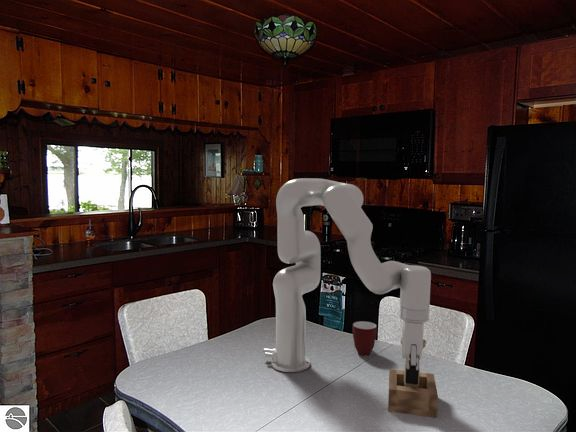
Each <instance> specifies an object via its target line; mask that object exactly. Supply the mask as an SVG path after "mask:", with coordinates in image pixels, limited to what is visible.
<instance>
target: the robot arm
mask: <svg viewBox="0 0 576 432" xmlns="http://www.w3.org/2000/svg"><path fill="white" fill-rule="evenodd" d="M275 202H276V203H275V206H276V214H277V215H276V217H277V228H276V229H277V235H276V236H277V255H278V258H279V260H280V261H281V262H283V263H285V264H295V265H290V266H288V267H285V268H283V269H281V270H279V271H278V272H277V273H276V274H275V276H274V278H273V281H272V287H273V293H274V298H275V347H273V348H265V347H264V348H263V350H262V351H263V352H262V353H263V354H264V357H265V358H271V359H270V365H271V367H272V368H273V369H274V370H277V371H279V372H284V373H299V372H302V371H304V370H308V369H309V367H310V365H311V360H310V358H309V357H308V356H306V339H307V338H306V330H307V329H306V328H307V326H306V325H307V323H306V322H307V317H306V316H307V315H306V314H307V313H306V310H307V309H306V304H305V301H304V299H303V295H304V294H306V293H309V292H312V291H314V290H315V289H316V288H318V286H319V284H320V281H321V268H322V267H321V262H322V261H321V258H322V257H321V253H322V251H321V244H320V240H319V238H318V237H317V235H316V234H315V233H314V232H312V231H310V230H305V216H304V213H303V211H302V209H301V208H303V207H313V206H323V207H324V208H325V209H326V211H327V213H328V214H329V215H330V217H331V219H332V220H333V222H334V223H335V225H336V227H337V228H338V229H339V231H340V232H341V234H342V235H343V237H344V239H345V240H346V245H347V251H348V255H349V256H348V257H349V260H350V263H351V265H352V267H353V269H354V271H355V273H356V274H357V276H358V277H359V279H360V280H361V282H362V283H363V285H364V286H365V287H366V288H367V289H368V290H369V291H370V292H372V293H373V294H375V295H384V294H387V293H389V292H391V291H393V290H397V289H400V292H399V294H400V295H399V313H398V314H399V315H398V318H400V320H402V329H401V330H402V331H401V332H402V333H401V338H402V345H401V358H402V359H404V360H406V358H407V368H406V380H405V382H406V383H407V384H415V385H417V384H418V376H419V369H420V368H419V369H418V359H419V361H421V360H422V355H423V349H424V348H423V339H424V332H425V331H424V329H425V323H428V322H429V320H430V304H431V303H430V301H431V284H432V283H431V280H432V273H431V270H430V269H429V268H428V267H426V266H422V265H412V264H411V265H409V264H407V263H402V262H400V261H397V260H396V261H395V260H388V261H385V262H381V261H380V259H379V258H378V256H377V255H376V253H375V251H374V249H373V246H372V241H371V238H372V232H373V229H374V227H373V226H374V225H373V223H372V222H371V220H370V218H369V217H368V216H367V215H366V213H365V211H364V210H363V208H362V206H363V205H364V194H363V192H362V190H361V189H360V188H359V187H358V186H357V185H355V184H351V183H345V182H339V181H336V180H330V179H325V178H318V177H317V178H311V177H310V178H307V177H306V178H305V177H304V178H303V177H302V178H294V179H291V180H288V181H287V182H285V183H284V184H283V185H282V186H281V187H280V188H279V189H278V191H277V194H276V199H275ZM422 348H423V349H422ZM409 355H411V357H409ZM416 356H417V358H416ZM409 360H411V362H410V363H409Z"/></svg>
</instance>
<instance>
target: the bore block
mask: <svg viewBox="0 0 576 432" xmlns="http://www.w3.org/2000/svg"><path fill="white" fill-rule="evenodd" d="M438 396H439V395H438V389H437V384H436V379H435V374H434V373H430V372H429V373H427V372H420V377H419V386H418V388H414V387H406V386H405V385H404V370H398V369H391V368H390V369H389V373H388V398H387V399H388V402H387V403H388V404H387V407H388V408H387V412H390V413H392V412H393V413H400V414H408V415H415V416H421V417H423V416H424V417H429V418H438Z"/></svg>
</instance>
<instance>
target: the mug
mask: <svg viewBox="0 0 576 432" xmlns="http://www.w3.org/2000/svg"><path fill="white" fill-rule="evenodd" d="M377 329H378V328H377V324H375V323H374V322H371V321H361V320H359V321H355V322H352V337H353V344H354V348H355V351H356V352H357V354H358V355H360V356H370V354H371V353H372V352H373V349H374V347H375V342H376V339H377V333H378V332H377Z"/></svg>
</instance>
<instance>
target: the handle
mask: <svg viewBox="0 0 576 432" xmlns="http://www.w3.org/2000/svg"><path fill="white" fill-rule="evenodd" d="M400 345H401V346H402V337H401V338H400ZM426 345H427V340H426V339H424V338H423V348H422V350H423V349H424V348H426ZM409 357H411V355H409ZM416 358H417V356H416ZM404 360H405V361H404V362H405V363H404V370H403V371H404V385H405V386H406V387H414V388H418V386H419V377H420V373H421V372H420V371H421V369H420V360H419V359H418V369H419V376H418V384H417V385H415V384H407V383H406V382H405V380H406V368H407V358H405V359H404ZM410 362H411V360H409V363H410Z"/></svg>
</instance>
